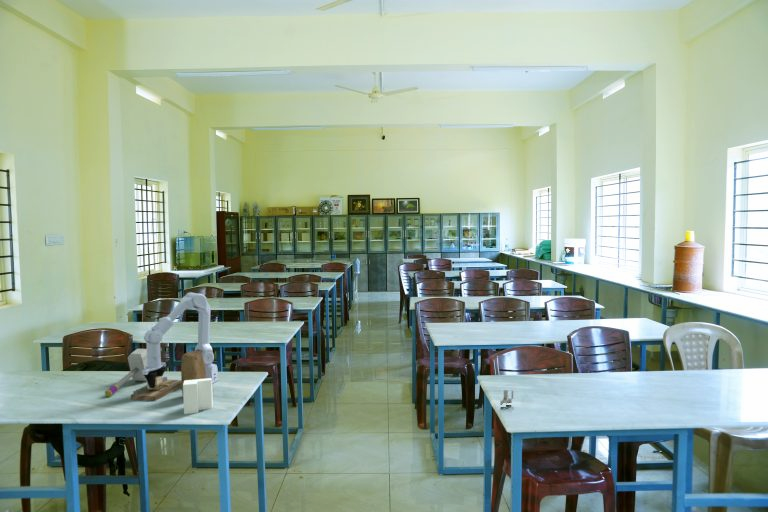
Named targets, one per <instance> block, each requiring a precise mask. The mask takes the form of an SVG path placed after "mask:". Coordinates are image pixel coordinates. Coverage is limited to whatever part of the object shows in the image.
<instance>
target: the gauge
mask: <svg viewBox="0 0 768 512" xmlns="http://www.w3.org/2000/svg"><path fill="white" fill-rule="evenodd" d="M162 378H163V376H156V378H155V387H154V388H150V387H149V384H148V381H147V382H146V385H147V389H152V390H158V389H160V388H162V387H163V386H165V387H168V386H169V384H163V380H162Z"/></svg>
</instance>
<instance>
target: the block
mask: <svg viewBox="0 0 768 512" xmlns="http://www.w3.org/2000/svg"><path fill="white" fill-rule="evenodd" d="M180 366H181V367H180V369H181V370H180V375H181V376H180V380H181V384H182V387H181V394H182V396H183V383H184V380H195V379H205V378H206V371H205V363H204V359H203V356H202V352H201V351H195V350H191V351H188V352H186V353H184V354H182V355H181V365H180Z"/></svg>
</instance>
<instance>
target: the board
mask: <svg viewBox="0 0 768 512" xmlns="http://www.w3.org/2000/svg"><path fill="white" fill-rule="evenodd" d="M162 380H163V384H169V386H168V387H165V386H163V387H162V388H160V389H158V390H152V389H147V384H146V385H144V386H142V387H139V388H138V389H136V390H134V391H133V393H132V394H130V400H131V401H134V400H135V401H154V402H156V401H158V400H160V399H162V398H163V397H165V396H168V395H169V394H171V393H172V392H174V391H176V390H179V389H180V388H182V384H181V379H168V377H167V376H162Z"/></svg>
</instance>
